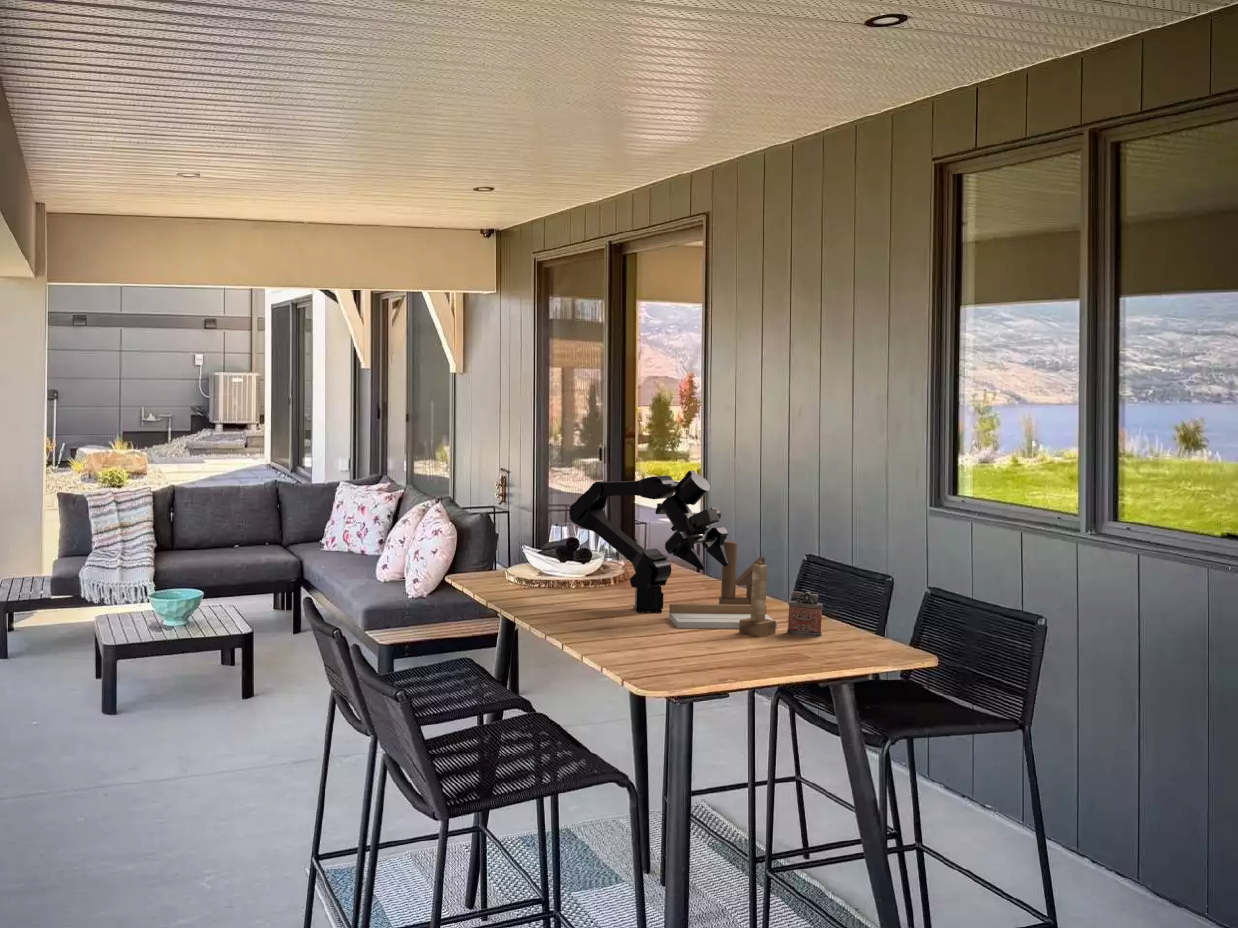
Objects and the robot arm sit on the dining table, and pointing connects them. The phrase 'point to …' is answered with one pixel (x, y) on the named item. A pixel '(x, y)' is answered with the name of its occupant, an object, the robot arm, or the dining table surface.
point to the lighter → (805, 615)
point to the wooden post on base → (758, 606)
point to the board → (709, 615)
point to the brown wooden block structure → (730, 577)
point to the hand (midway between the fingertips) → (715, 567)
